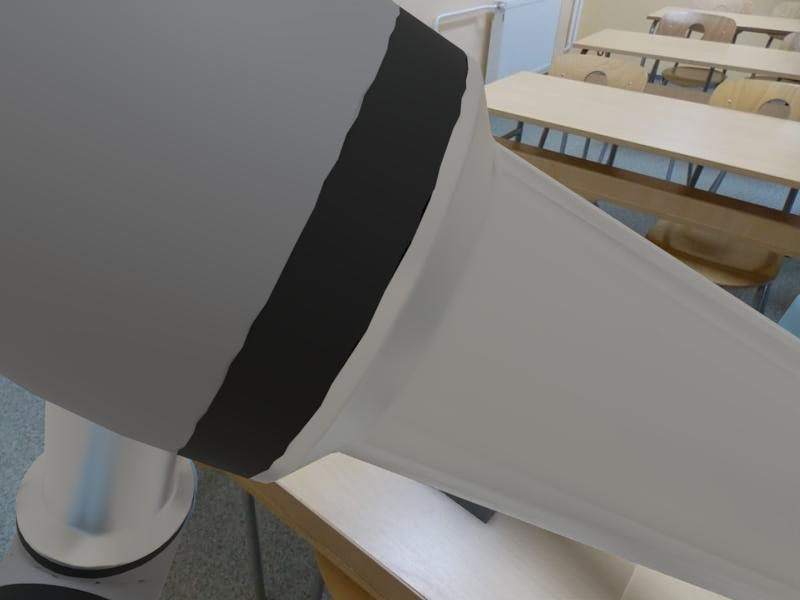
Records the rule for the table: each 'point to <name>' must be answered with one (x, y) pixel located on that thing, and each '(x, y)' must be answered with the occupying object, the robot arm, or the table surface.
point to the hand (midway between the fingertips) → (457, 270)
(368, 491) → the table surface
